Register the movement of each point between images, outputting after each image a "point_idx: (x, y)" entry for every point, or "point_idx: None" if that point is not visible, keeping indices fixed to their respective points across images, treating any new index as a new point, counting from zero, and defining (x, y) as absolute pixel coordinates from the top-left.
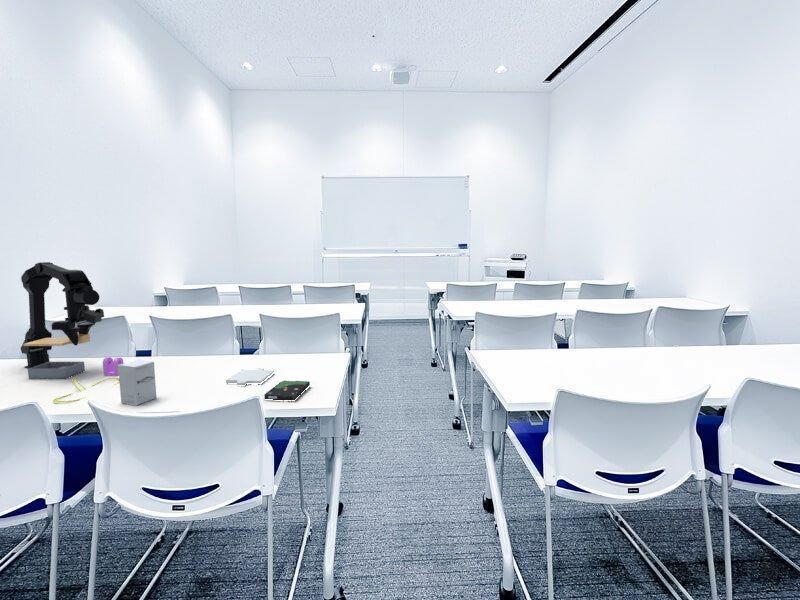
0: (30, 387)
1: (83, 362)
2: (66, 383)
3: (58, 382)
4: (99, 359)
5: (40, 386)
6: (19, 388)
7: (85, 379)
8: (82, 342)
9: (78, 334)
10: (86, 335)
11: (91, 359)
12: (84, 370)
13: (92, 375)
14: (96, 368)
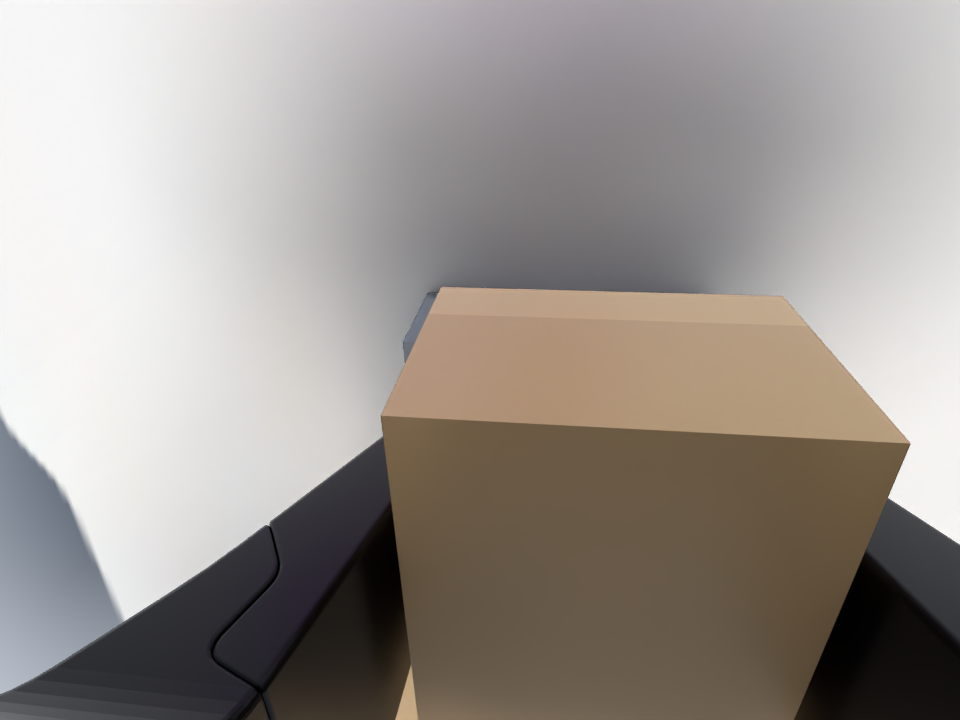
0: (939, 443)
1: (416, 337)
2: (901, 185)
3: (826, 300)
4: (49, 412)
5: (934, 381)
6: (939, 505)
7: (770, 54)
8: (796, 314)
9: (455, 703)
10: (581, 413)
11: (75, 473)
12: (433, 296)
13: (592, 88)
14: (315, 242)
